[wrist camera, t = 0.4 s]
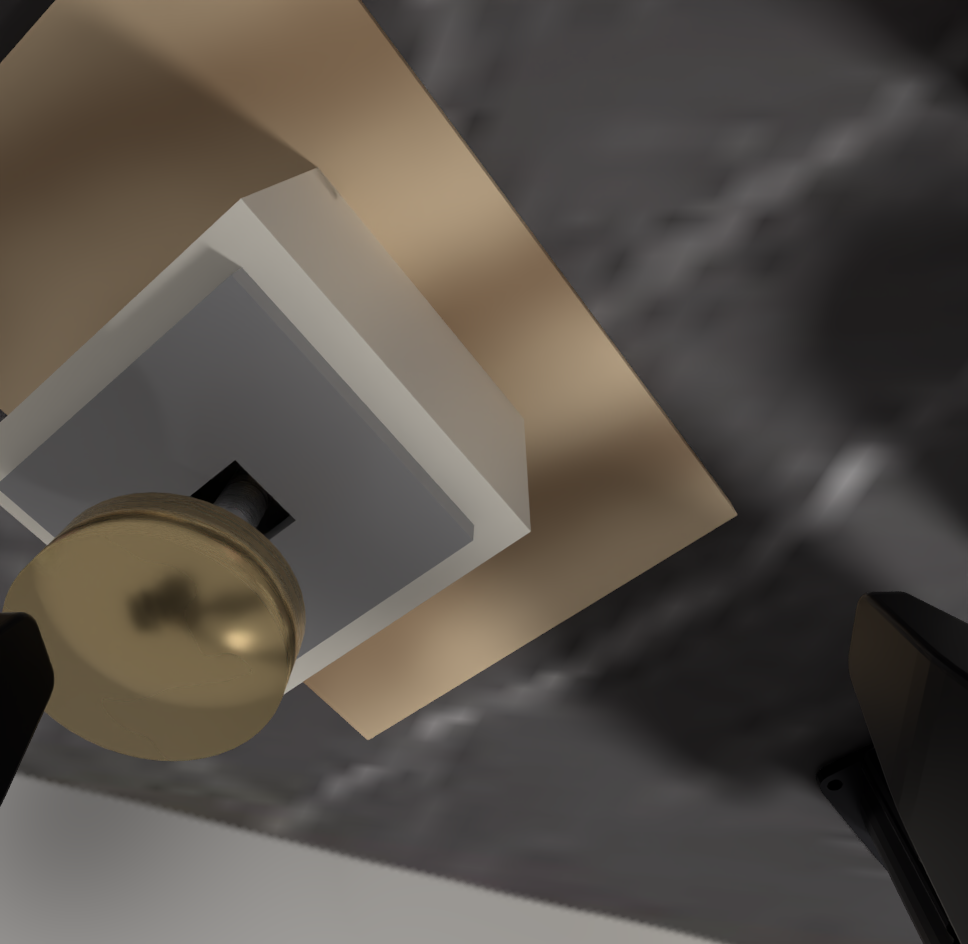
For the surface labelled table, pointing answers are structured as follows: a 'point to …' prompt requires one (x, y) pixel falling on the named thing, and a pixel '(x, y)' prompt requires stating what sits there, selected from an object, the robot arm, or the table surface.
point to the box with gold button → (289, 414)
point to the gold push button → (167, 619)
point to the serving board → (400, 230)
